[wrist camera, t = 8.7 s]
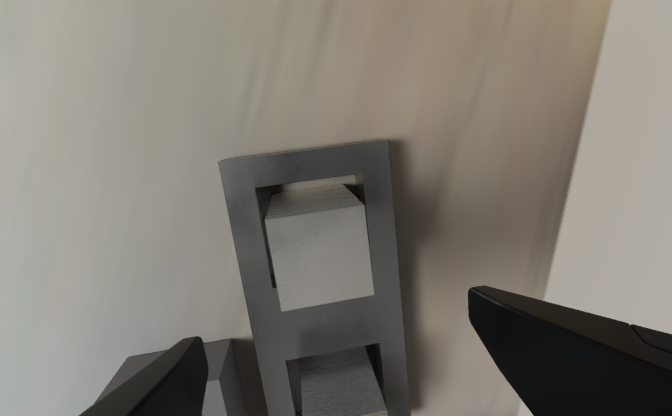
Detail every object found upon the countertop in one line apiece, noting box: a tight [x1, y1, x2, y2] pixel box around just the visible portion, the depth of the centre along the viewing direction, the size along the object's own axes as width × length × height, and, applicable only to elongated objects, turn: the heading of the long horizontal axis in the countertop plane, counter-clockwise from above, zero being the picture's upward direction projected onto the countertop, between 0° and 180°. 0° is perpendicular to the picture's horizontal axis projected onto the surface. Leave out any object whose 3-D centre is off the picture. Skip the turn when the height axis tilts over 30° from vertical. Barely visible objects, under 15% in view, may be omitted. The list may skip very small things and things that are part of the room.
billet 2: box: [300, 346, 388, 416], centre depth 19 cm, size 4×4×6 cm
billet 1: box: [265, 184, 374, 312], centre depth 17 cm, size 4×4×6 cm
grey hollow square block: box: [94, 339, 247, 416], centre depth 19 cm, size 6×6×4 cm
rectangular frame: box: [218, 139, 411, 416], centre depth 20 cm, size 18×8×2 cm, turn 7°
